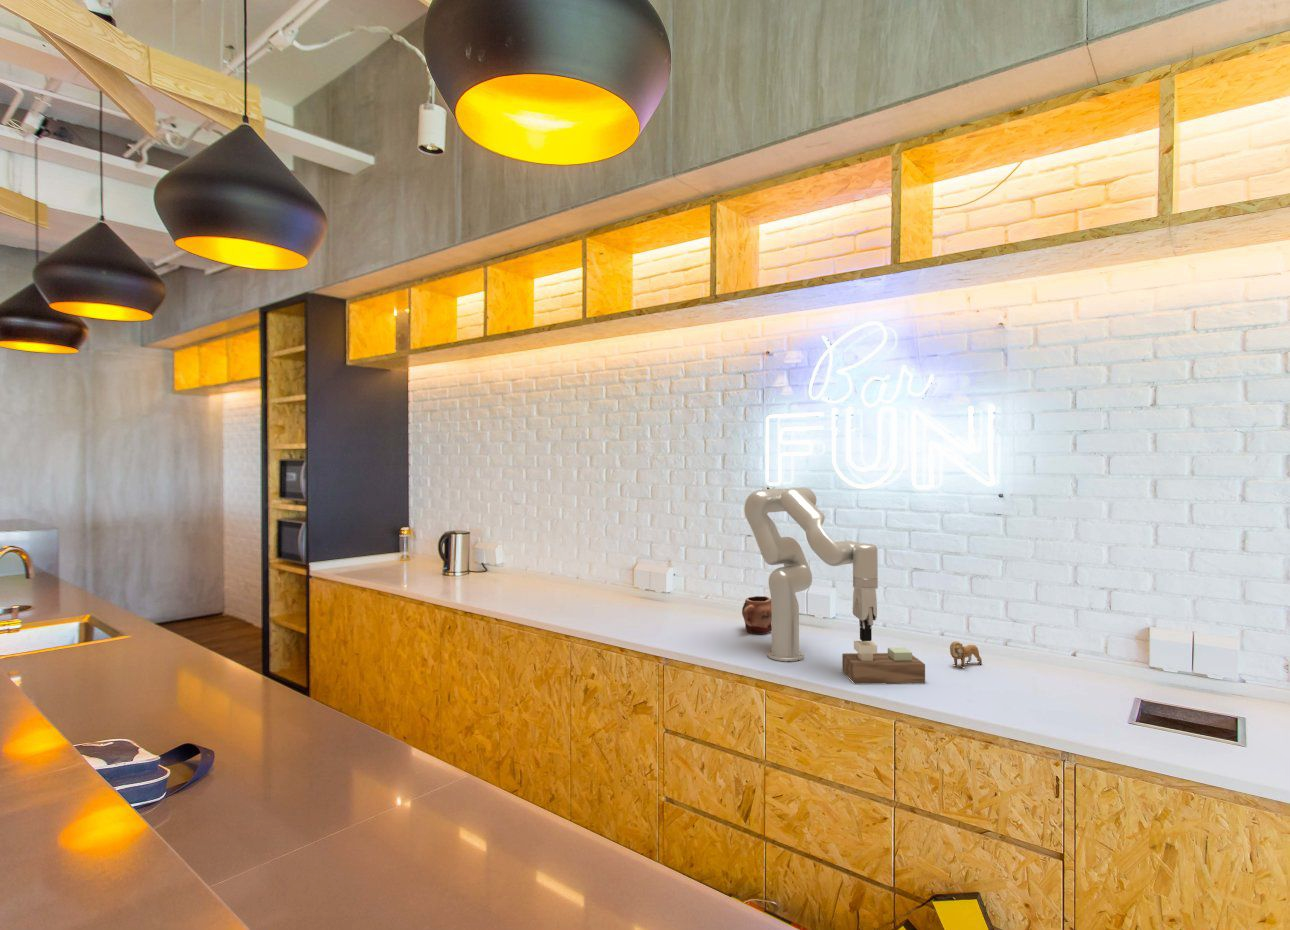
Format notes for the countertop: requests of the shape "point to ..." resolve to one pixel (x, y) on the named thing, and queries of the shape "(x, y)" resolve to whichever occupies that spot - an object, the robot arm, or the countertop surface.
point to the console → (883, 669)
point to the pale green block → (900, 654)
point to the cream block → (865, 650)
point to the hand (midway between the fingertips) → (865, 640)
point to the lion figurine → (964, 653)
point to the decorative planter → (757, 614)
